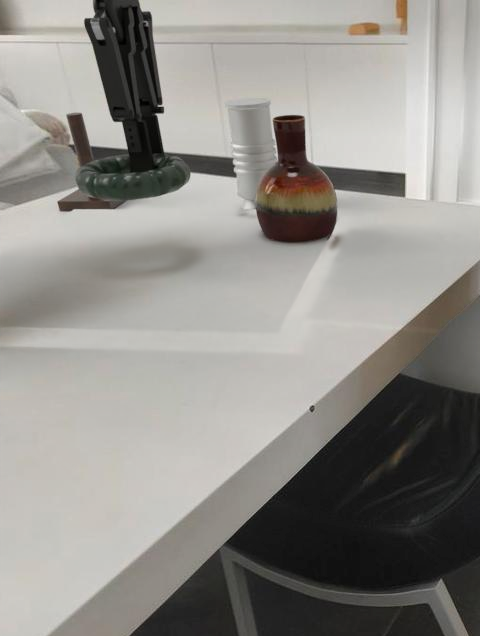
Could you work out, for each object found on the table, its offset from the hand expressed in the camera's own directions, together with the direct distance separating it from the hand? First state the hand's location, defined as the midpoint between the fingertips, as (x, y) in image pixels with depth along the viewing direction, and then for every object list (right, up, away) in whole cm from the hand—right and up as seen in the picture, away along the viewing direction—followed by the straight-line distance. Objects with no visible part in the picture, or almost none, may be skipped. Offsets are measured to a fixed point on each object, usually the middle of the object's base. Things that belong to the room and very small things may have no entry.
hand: (151, 174), depth 87 cm
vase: (+18, -6, +9) cm, 21 cm away
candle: (+11, +5, +23) cm, 26 cm away
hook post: (-18, +8, +28) cm, 35 cm away
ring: (-1, -2, -5) cm, 5 cm away
